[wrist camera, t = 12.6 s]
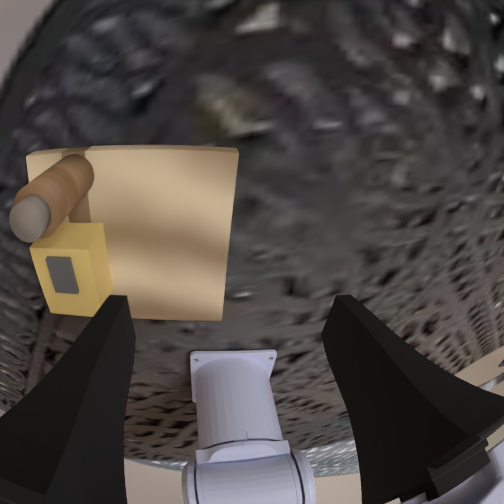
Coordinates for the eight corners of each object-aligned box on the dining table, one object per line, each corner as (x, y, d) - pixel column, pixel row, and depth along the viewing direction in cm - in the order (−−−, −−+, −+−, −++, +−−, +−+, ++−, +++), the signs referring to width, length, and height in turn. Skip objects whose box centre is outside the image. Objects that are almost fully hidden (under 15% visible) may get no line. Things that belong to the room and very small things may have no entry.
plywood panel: (220, 309, 23) (221, 320, 22) (66, 302, 20) (62, 312, 19) (236, 148, 16) (239, 153, 15) (35, 151, 14) (26, 156, 13)
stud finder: (113, 287, 19) (102, 321, 16) (64, 284, 18) (49, 315, 15) (103, 223, 16) (86, 252, 14) (49, 222, 15) (27, 250, 13)
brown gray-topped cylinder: (96, 195, 15) (55, 250, 10) (59, 196, 15) (11, 250, 10) (92, 152, 14) (43, 192, 9) (54, 155, 13) (-3, 196, 8)
